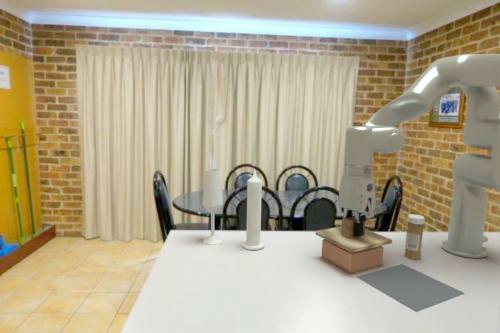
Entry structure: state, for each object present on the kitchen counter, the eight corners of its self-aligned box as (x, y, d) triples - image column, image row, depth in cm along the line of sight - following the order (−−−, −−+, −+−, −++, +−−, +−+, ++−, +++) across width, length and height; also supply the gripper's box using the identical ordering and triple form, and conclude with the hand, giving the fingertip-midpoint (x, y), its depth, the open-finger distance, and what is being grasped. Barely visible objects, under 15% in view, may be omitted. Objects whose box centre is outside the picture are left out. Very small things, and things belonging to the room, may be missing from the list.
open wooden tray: (351, 251, 110) (352, 233, 109) (381, 267, 99) (383, 247, 98) (321, 258, 104) (322, 239, 103) (350, 275, 93) (351, 254, 93)
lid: (353, 227, 110) (354, 208, 109) (392, 243, 97) (393, 222, 96) (315, 234, 103) (316, 214, 102) (351, 252, 90) (353, 230, 89)
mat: (401, 265, 100) (402, 263, 100) (464, 295, 84) (465, 293, 84) (355, 278, 92) (355, 276, 92) (416, 314, 76) (416, 312, 76)
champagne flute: (226, 240, 117) (227, 170, 113) (212, 246, 112) (212, 172, 108) (213, 235, 121) (213, 167, 117) (198, 240, 116) (198, 170, 112)
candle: (238, 248, 110) (239, 170, 106) (247, 240, 117) (248, 167, 113) (259, 252, 108) (261, 172, 104) (267, 244, 114) (269, 169, 110)
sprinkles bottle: (423, 259, 105) (428, 216, 102) (414, 263, 102) (419, 219, 100) (409, 254, 108) (413, 212, 106) (400, 257, 106) (404, 215, 104)
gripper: (390, 174, 92) (385, 241, 95) (346, 165, 106) (343, 223, 109) (370, 176, 88) (365, 245, 91) (327, 166, 102) (324, 226, 105)
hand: (353, 232), depth 100 cm, fingers closed on lid, 3 cm apart
